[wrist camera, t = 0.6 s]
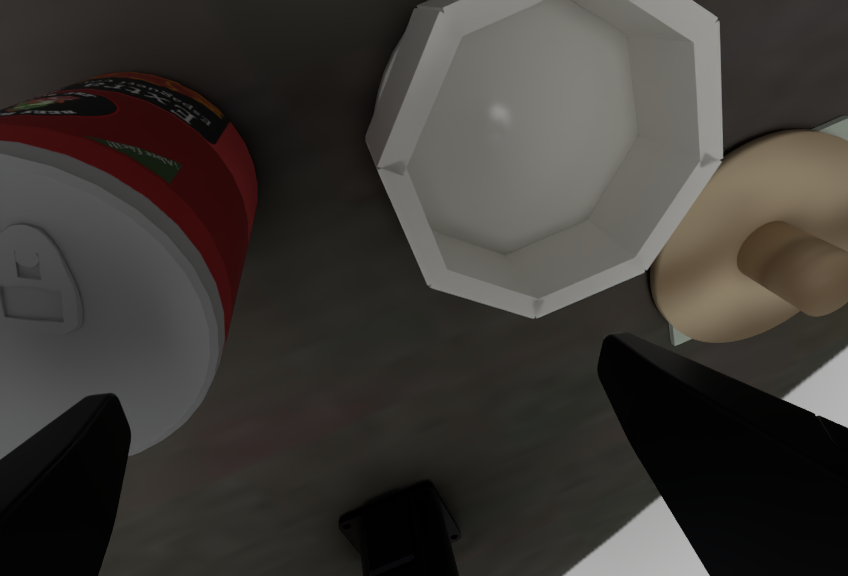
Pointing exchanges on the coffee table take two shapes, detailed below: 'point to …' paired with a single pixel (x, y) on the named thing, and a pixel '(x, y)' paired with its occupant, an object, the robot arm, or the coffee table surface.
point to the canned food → (118, 251)
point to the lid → (760, 240)
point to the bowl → (546, 141)
